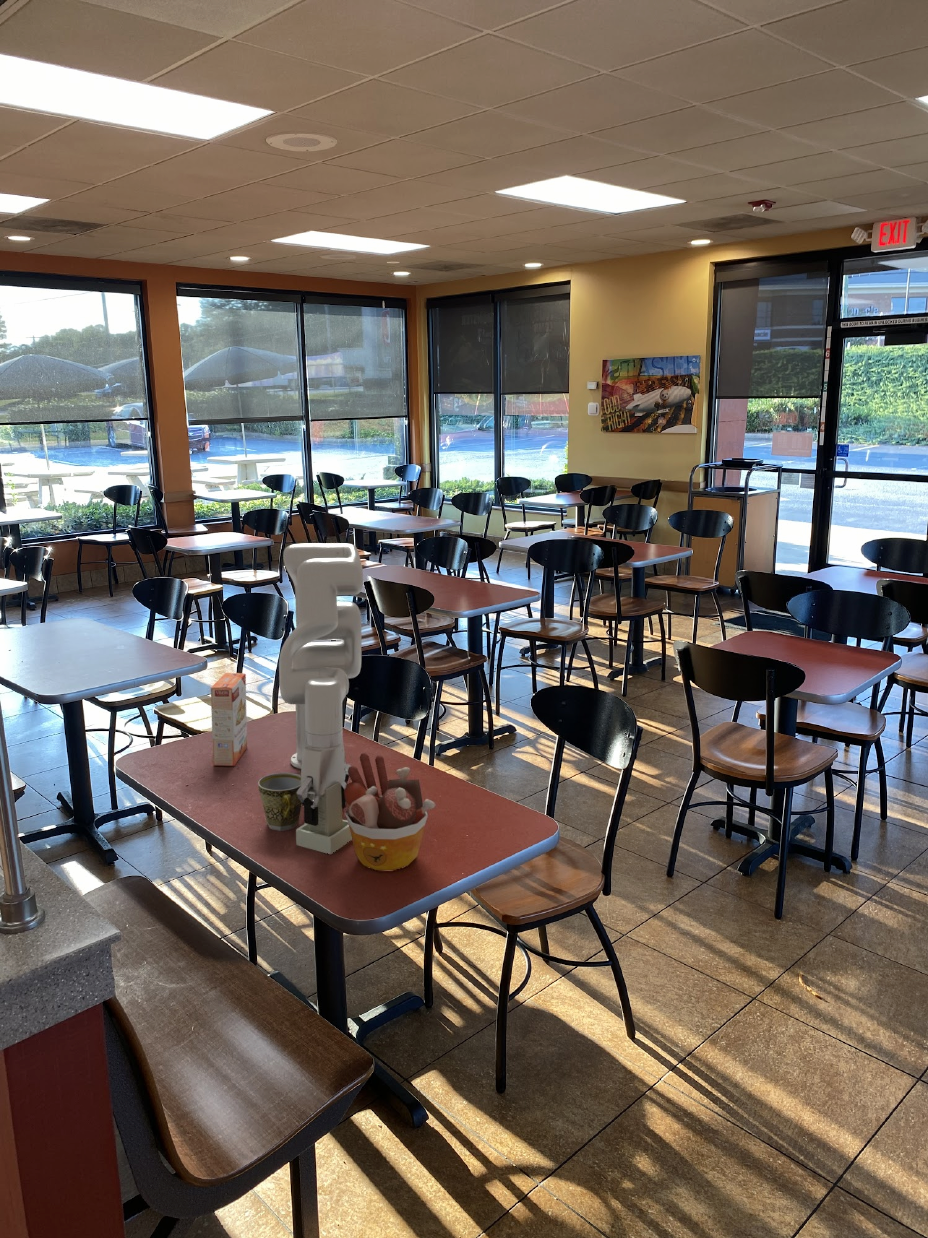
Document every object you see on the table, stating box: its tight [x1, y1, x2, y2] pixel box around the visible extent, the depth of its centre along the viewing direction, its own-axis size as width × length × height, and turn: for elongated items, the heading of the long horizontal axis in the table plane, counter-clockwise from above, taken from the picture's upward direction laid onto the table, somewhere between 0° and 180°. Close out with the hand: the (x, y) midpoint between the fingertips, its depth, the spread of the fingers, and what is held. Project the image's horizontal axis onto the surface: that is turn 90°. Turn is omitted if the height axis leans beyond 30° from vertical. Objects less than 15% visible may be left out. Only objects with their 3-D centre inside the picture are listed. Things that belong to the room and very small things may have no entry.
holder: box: [295, 818, 353, 855], centre depth 194 cm, size 9×9×4 cm
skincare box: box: [309, 782, 343, 837], centre depth 193 cm, size 6×4×12 cm
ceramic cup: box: [257, 772, 302, 832], centre depth 199 cm, size 13×10×10 cm
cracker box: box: [210, 672, 248, 767], centre depth 238 cm, size 14×6×21 cm, turn 179°
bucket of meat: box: [344, 752, 436, 871], centre depth 185 cm, size 20×16×20 cm
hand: (325, 815), depth 193 cm, fingers open, 9 cm apart
